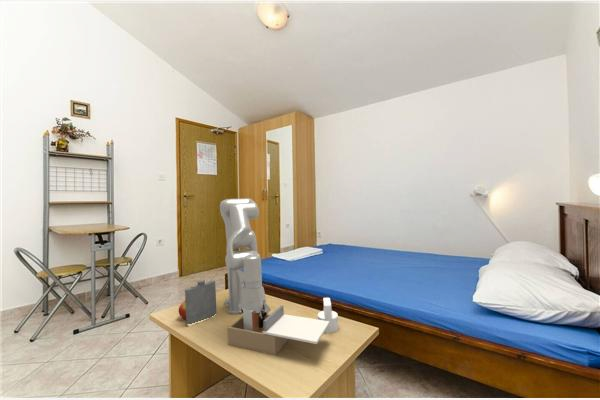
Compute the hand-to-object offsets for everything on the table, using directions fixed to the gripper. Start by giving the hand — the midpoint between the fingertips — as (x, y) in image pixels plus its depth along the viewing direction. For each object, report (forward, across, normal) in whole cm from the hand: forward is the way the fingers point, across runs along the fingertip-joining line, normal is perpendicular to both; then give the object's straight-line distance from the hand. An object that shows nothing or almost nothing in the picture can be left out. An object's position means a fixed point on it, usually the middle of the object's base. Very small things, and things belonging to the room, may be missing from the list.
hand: (254, 324), depth 113 cm
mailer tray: (+5, +3, 0) cm, 6 cm away
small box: (+3, 0, 0) cm, 3 cm away
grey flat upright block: (+6, -35, +6) cm, 36 cm away
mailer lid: (-2, +20, 0) cm, 20 cm away
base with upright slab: (+6, +27, +18) cm, 33 cm away
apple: (+6, -44, +5) cm, 44 cm away
